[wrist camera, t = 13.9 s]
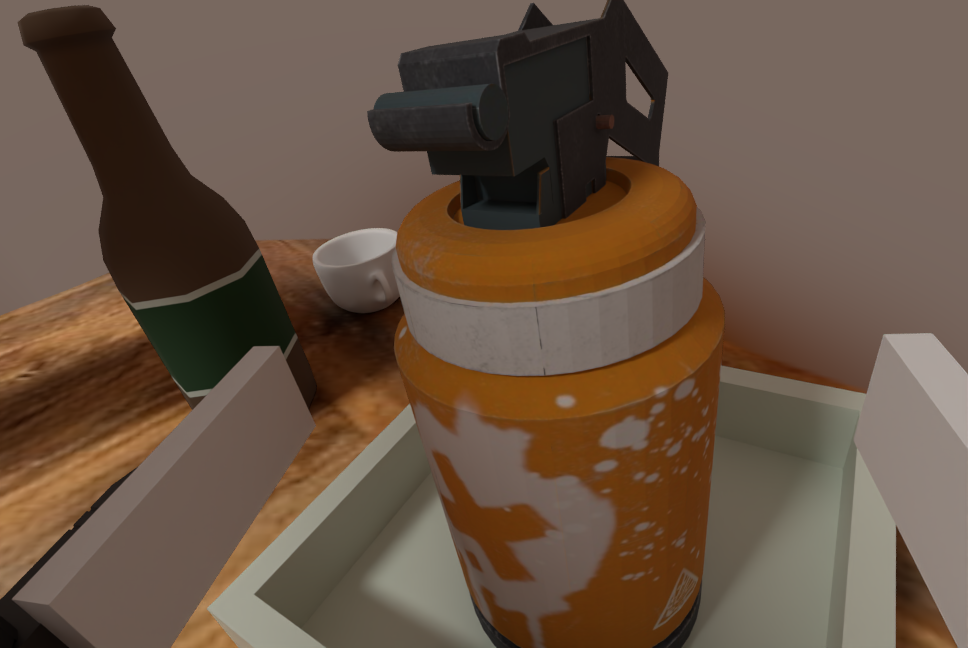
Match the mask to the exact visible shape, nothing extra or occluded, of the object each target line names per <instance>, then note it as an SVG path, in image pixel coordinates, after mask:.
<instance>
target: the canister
mask: <svg viewBox="0 0 968 648" xmlns="http://www.w3.org/2000/svg"><path fill="white" fill-rule="evenodd" d="M625 62H626V63H627V64H628V66H629V67H630V69H631V70H632V72H633V73H634V74H635V76H636V77H637V79H638V80H639V82H640V83H641V85H642V86H643V87H644V89H645V90H646V92H647V93H648V95H649V96H650V97H651V106H650V111H649V115H648V118H647V117H646V116H644V115H643V114H642V113H640V112H639V111H638V110H637V109H635V108H634V107H633V106H631V105H630V104H629V103H627V100H626V74H625V72H626V71H625ZM398 68H399V72H400V76H401V81H402V85H403V90H404V92H397V93H386V94H383V95H381V96H380V97H379V98H378V99H377V101H376V103H375V106H374V110H370V111H367V113H368V121H369V125H370V128H371V131H372V133H373V135H374V137H375V139H376V140H377V141H378V143H379V144H380V145H381V146H382V147H384V148H385V149H387V150H390V151H427V153H428V158H429V162H430V167H431V172H432V174H437V175H460V180H459V181H457V182H455V183H452V184H450V185H448V186H445V187H443V188H442V189H440V190H438V191H436V192H434V193H432V194H431V195H429V196H428V197H426V198H424V199H423V200H422V201H421V202H419V203H418V204H417V205H416V206H414V208H413V209H412V210H411V211H410V212H409V213H408V214H407V216H406V217H405V218H404V220H403V222H402V224H401V226H400V228H399V230H398V232H397V239H396V248H395V250H394V253H393V255H392V268H393V271H394V275H395V279H396V283H397V286H398V290H399V294H400V298H401V301H402V305H403V309H404V315H403V317H402V318H401V320H400V322H399V324H398V327H397V330H396V333H395V339H394V351H395V355H396V360H397V364H398V367H399V370H400V373H401V376H402V379H403V383H404V386H405V389H406V392H407V395H408V399H409V402H410V405H411V408H412V411H413V415H414V418H415V421H416V424H417V427H418V431H419V434H420V437H421V440H422V443H423V447H424V450H425V453H426V456H427V459H428V463H429V466H430V469H431V472H432V475H433V478H434V482H435V485H436V488H437V491H438V494H439V498H440V501H441V504H442V507H443V510H444V514H445V517H446V520H447V523H448V526H449V530H450V533H451V536H452V539H453V542H454V546H455V549H456V552H457V555H458V558H459V562H460V565H461V568H462V571H463V574H464V577H465V581H466V584H467V587H468V589H469V593H470V597H471V600H472V603H473V606H474V609H475V613H476V615H477V617H478V619H479V621H480V624H481V626H482V628H483V630H484V631H485V633H486V634H487V636H488V637H489V639H490V640H491V642H492V643H493V645H494V646H495V647H496V648H682V646H683V645H684V643H685V642H686V640H687V639H688V638H689V636H690V634H691V631H692V629H693V627H694V624H695V622H696V620H697V615H698V611H699V606H700V601H701V590H702V575H703V567H704V556H705V545H706V533H707V522H708V510H709V499H710V488H711V476H712V465H713V453H714V442H715V431H716V419H717V408H718V396H719V385H720V374H721V362H722V351H723V340H724V328H725V318H724V317H725V312H724V307H723V304H722V301H721V299H720V296H719V295H718V293H717V292H716V291H715V289H714V287H713V286H712V285H711V284H710V283H709V282H708V281H707V280H706V279H705V278H704V277H703V268H704V267H703V266H704V241H705V219H704V217H703V214H702V212H701V210H700V209H699V208H698V207H697V205H696V203H695V200H694V198H693V195H692V193H691V191H690V189H689V188H688V187H687V186H686V185H685V184H684V183H683V181H681V179H680V178H679V177H677V176H675V175H674V174H672V173H671V172H669V171H667V170H665V169H664V168H661V167H659V148H660V139H661V131H662V122H663V113H664V105H665V96H666V88H667V79H668V72H667V70H666V68H665V67H664V65H663V64H662V62H661V60H660V59H659V57H658V55H657V54H656V52H655V51H654V49H653V47H652V46H651V44H650V42H649V41H648V39H647V37H646V36H645V34H644V33H643V31H642V29H641V28H640V26H639V24H638V23H637V21H636V20H635V18H634V16H633V15H632V13H631V11H630V10H629V8H628V7H627V5H626V3H625V2H624V0H607V3H606V6H605V8H604V10H603V13H602V15H601V18H599V19H592V20H586V21H579V22H573V23H567V24H560V25H552V23H551V22H550V21H549V20H548V19H547V18H546V17H545V16H544V15H543V14H542V12H541V11H540V10H539V9H538V7H537V6H536V5H535V4H534V3H531V4H530V6H529V8H528V10H527V12H526V15H525V17H524V19H523V21H522V23H521V25H520V28H519V30H518V31H516V32H513V33H509V34H506V35H501V36H494V37H487V38H481V39H475V40H468V41H462V42H455V43H448V44H442V45H435V46H429V47H425V48H420V49H417V50H413V51H409V52H405V53H401V55H400V59H399V63H398ZM609 138H610V139H611V140H612V141H614V142H615V143H616V144H618V145H619V146H621V147H622V148H623V149H625V150H626V151H628V152H629V153H630V154H632V155H633V156H606V155H607V147H608V139H609Z"/></svg>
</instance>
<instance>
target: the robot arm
mask: <svg viewBox="0 0 968 648" xmlns="http://www.w3.org/2000/svg"><path fill="white" fill-rule="evenodd" d="M315 426H316V425H315V423H314V420H313V418H312V416H311V414H310V412H309V410H308V407H307V405H306V403H305V401H304V399H303V397H302V394H301V392H300V390H299V388H298V386H297V384H296V381H295V379H294V377H293V375H292V373H291V371H290V368H289V366H288V364H287V362H286V360H285V357H284V355H283V353H282V351H281V349H280V347H279V346H253V347H252V349H251V350H250V351H249V352H248V353H247V354H246V355H245V356H244V357H243V358H242V359H241V360H240V361H239V362H238V363H237V364H236V365H235V366H234V367H233V368H232V369H231V370H230V372H229V373H228V374H227V375H226V376H225V377H224V378H223V379H222V380H221V381H220V382H219V383H218V384H217V385H216V386H215V387H214V388H213V389H212V390H211V391H210V392H209V393H208V395H207V396H206V397H205V398H204V399H203V400H202V401H201V402H200V403H199V404H198V405H197V406H196V407H195V408H194V409H193V410H192V411H191V412H190V413H189V414H188V415H187V416H186V417H185V419H184V420H183V421H182V422H181V423H180V424H179V425H178V426H177V427H176V428H175V429H174V430H173V431H172V432H171V433H170V434H169V435H168V436H167V437H166V438H165V439H164V440H163V442H162V443H161V444H160V445H159V446H158V447H157V448H156V449H155V450H154V451H153V452H152V453H151V454H150V455H149V456H148V457H147V458H146V459H145V460H144V461H143V462H142V463H141V465H140V466H139V467H137V468H135V469H134V470H133V471H131V472H130V473H128V474H127V475H126V476H124V477H123V478H121V479H120V480H119V481H117V482H116V483H114V484H113V485H112V486H111V487H110V488H109V489H108V490H107V491H106V492H105V493H104V494H103V495H102V496H101V497H100V498H99V499H98V500H97V501H96V502H95V503H94V504H93V505H92V506H91V510H90V511H89V512H88V511H86V512H85V514H84V515H83V516H82V517H81V518H80V519H79V520H78V521H77V522H76V523H75V524H74V525H73V526H74V528H73V529H72V530H68V531H67V532H66V533H65V534H64V535H63V536H62V537H61V538H60V539H59V540H58V541H57V542H56V543H55V544H54V545H53V546H52V547H51V548H50V549H49V550H48V551H47V553H46V554H45V555H44V556H43V557H42V558H41V559H40V560H39V561H38V562H37V563H36V564H35V565H34V566H33V567H32V568H31V569H30V570H29V571H28V572H27V573H26V574H25V575H24V576H23V577H22V578H21V579H20V580H19V581H18V582H17V583H16V584H15V585H14V586H13V587H12V588H11V589H10V591H9V592H8V593H7V594H6V595H5V596H4V597H3V598H1V599H0V648H170V647H171V646H172V644H173V643H174V641H175V640H176V638H177V637H178V635H179V634H180V632H181V631H182V629H183V628H184V626H185V625H186V623H187V622H188V620H189V618H190V617H191V615H192V614H193V612H194V611H195V609H196V608H197V606H198V605H199V603H200V602H201V600H202V599H203V597H204V596H205V594H206V593H207V591H208V589H209V588H210V586H211V585H212V583H213V582H214V580H215V579H216V577H217V576H218V574H219V573H220V571H221V570H222V568H223V567H224V565H225V564H226V562H227V560H228V559H229V557H230V556H231V554H232V553H233V551H234V550H235V548H236V547H237V545H238V544H239V542H240V541H241V539H242V538H243V536H244V535H245V533H246V531H247V530H248V528H249V527H250V525H251V524H252V522H253V521H254V519H255V518H256V516H257V515H258V513H259V512H260V510H261V509H262V507H263V506H264V504H265V502H266V501H267V499H268V498H269V496H270V495H271V493H272V492H273V490H274V489H275V487H276V486H277V484H278V483H279V481H280V480H281V478H282V477H283V475H284V473H285V472H286V470H287V469H288V467H289V466H290V464H291V463H292V461H293V460H294V458H295V457H296V455H297V454H298V452H299V451H300V449H301V448H302V446H303V444H304V443H305V441H306V440H307V438H308V437H309V435H310V434H311V432H312V431H313V429H314V428H315ZM853 440H854V442H855V444H856V446H857V448H858V450H859V452H860V454H861V456H862V458H863V460H864V462H865V464H866V466H867V468H868V470H869V472H870V474H871V476H872V478H873V480H874V482H875V484H876V486H877V488H878V490H879V492H880V494H881V496H882V498H883V500H884V502H885V504H886V506H887V508H888V510H889V512H890V514H891V516H892V518H893V520H894V522H895V524H896V526H897V528H898V530H899V532H900V534H901V536H902V538H903V540H904V542H905V544H906V545H907V547H908V549H909V551H910V553H911V555H912V557H913V559H914V561H915V563H916V565H917V567H918V569H919V571H920V573H921V575H922V577H923V579H924V581H925V583H926V585H927V587H928V589H929V591H930V593H931V595H932V597H933V599H934V601H935V603H936V605H937V607H938V609H939V611H940V613H941V615H942V617H943V619H944V621H945V623H946V625H947V627H948V629H949V631H950V633H951V635H952V637H953V639H954V641H955V643H956V645H957V647H958V648H968V374H967V373H966V372H965V371H964V369H963V368H962V367H961V366H960V365H959V364H958V362H957V361H956V360H955V359H954V358H953V357H952V356H951V354H950V353H949V352H948V351H947V350H946V349H945V347H944V346H943V345H942V344H941V343H940V342H939V341H938V340H937V338H936V337H935V336H934V335H933V334H932V333H925V334H884V335H883V338H882V342H881V345H880V349H879V352H878V355H877V359H876V362H875V366H874V369H873V373H872V376H871V380H870V383H869V387H868V390H867V394H866V397H865V400H864V404H863V407H862V411H861V414H860V418H859V421H858V425H857V428H856V432H855V435H854V439H853Z"/></svg>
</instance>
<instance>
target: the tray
mask: <svg viewBox="0 0 968 648" xmlns="http://www.w3.org/2000/svg"><path fill="white" fill-rule="evenodd" d="M865 397H866V394H864V393H859V392H854V391H849V390H844V389H839V388H834V387H828V386H823V385H818V384H813V383H808V382H803V381H798V380H793V379H788V378H782V377H777V376H772V375H767V374H762V373H757V372H752V371H747V370H742V369H736V368H731V367H726V366H721V374H720V385H719V396H718V408H717V419H716V431H715V442H714V453H713V465H712V476H711V488H710V499H709V510H708V522H707V533H706V545H705V556H704V567H703V575H702V590H701V601H700V606H699V611H698V615H697V620H696V622H695V624H694V627H693V629H692V631H691V634H690V636H689V638H688V639H687V640H686V642H685V643H684V645H683V646H682V648H896V524H895V522H894V520H893V518H892V516H891V514H890V512H889V510H888V508H887V506H886V504H885V502H884V500H883V498H882V496H881V494H880V492H879V490H878V488H877V486H876V484H875V482H874V480H873V478H872V476H871V474H870V472H869V470H868V468H867V466H866V464H865V462H864V460H863V458H862V456H861V454H860V452H859V450H858V448H857V446H856V444H855V442H854V440H853V439H854V435H855V432H856V428H857V425H858V421H859V418H860V414H861V411H862V407H863V404H864V400H865ZM207 610H208V611H209V612H210V613H211V614H212V616H213V617H214V618H215V619H216V621H217V622H218V623H219V624H220V625H221V627H222V628H223V629H224V630H225V632H226V633H227V634H228V635H229V636H230V638H231V639H232V640H233V641H234V643H235V644H236V645H237V646H238V647H239V648H496V647H495V646H494V645H493V643H492V642H491V640H490V639H489V637H488V636H487V634H486V633H485V631H484V630H483V628H482V626H481V624H480V621H479V619H478V617H477V615H476V613H475V609H474V606H473V603H472V600H471V597H470V593H469V589H468V587H467V584H466V581H465V577H464V574H463V571H462V568H461V565H460V562H459V558H458V555H457V552H456V549H455V546H454V542H453V539H452V536H451V533H450V530H449V526H448V523H447V520H446V517H445V514H444V510H443V507H442V504H441V501H440V498H439V494H438V491H437V488H436V485H435V482H434V478H433V475H432V472H431V469H430V466H429V463H428V459H427V456H426V453H425V450H424V447H423V443H422V440H421V437H420V434H419V431H418V427H417V424H416V421H415V418H414V415H413V411H412V408H411V405H410V404H409V405H408V406H407V407H406V408H405V409H404V410H403V411H402V412H401V413H400V414H399V415H398V416H397V417H396V418H395V419H394V420H393V421H392V422H391V423H390V424H389V425H388V426H387V427H386V428H385V429H384V430H383V431H382V432H381V433H380V434H379V435H378V436H377V437H376V438H375V439H374V440H373V441H372V442H371V443H370V444H369V445H368V446H367V447H366V448H365V449H364V450H363V451H362V452H361V453H360V454H359V456H358V457H357V458H356V459H355V460H354V461H353V462H352V463H351V464H350V465H349V466H348V467H347V468H346V469H345V470H344V471H343V472H342V473H341V474H340V475H339V476H338V477H337V478H336V479H335V480H334V481H333V482H332V483H331V484H330V485H329V486H328V487H327V488H326V489H325V490H324V491H323V492H322V493H321V494H320V495H319V496H318V497H317V498H316V499H315V500H314V501H313V502H312V503H311V504H310V505H309V506H308V507H307V508H306V509H305V510H304V511H303V512H302V513H301V514H300V515H299V516H298V517H297V518H296V519H295V520H294V521H293V522H292V523H291V524H290V525H289V526H288V527H287V528H286V529H285V530H284V531H283V532H282V533H281V534H280V535H279V536H278V537H277V538H276V539H275V540H274V541H273V542H272V543H271V544H270V545H269V546H268V547H267V548H266V549H265V550H264V551H263V552H262V553H261V554H260V555H259V556H258V557H257V558H256V559H255V560H254V561H253V563H252V564H251V565H250V566H249V567H248V568H247V569H246V570H245V571H244V572H243V573H242V574H241V575H240V576H239V577H238V578H237V579H236V580H235V581H234V582H233V583H232V584H231V585H230V586H229V587H228V588H227V589H226V590H225V591H224V592H223V593H222V594H221V595H220V596H219V597H218V598H217V599H216V600H215V601H214V602H213V603H212V604H211V605H210V606H209V607H208V608H207Z"/></svg>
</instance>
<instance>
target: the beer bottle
mask: <svg viewBox="0 0 968 648" xmlns="http://www.w3.org/2000/svg"><path fill="white" fill-rule="evenodd" d="M18 26H19V29H20V33H21V37H22V41H23V44H24V46H26V47H28V48H30V49H33V50H35V51H36V52H37V54H38V56H39V58H40V60H41V62H42V64H43V66H44V68H45V70H46V72H47V74H48V76H49V78H50V80H51V82H52V84H53V86H54V89H55V91H56V92H57V95H58V97H59V99H60V101H61V103H62V105H63V107H64V109H65V111H66V113H67V115H68V117H69V119H70V121H71V123H72V125H73V127H74V129H75V131H76V133H77V135H78V138H79V140H80V142H81V144H82V145H83V148H84V150H85V152H86V154H87V156H88V158H89V160H90V162H91V164H92V166H93V169H94V172H95V175H96V177H97V180H98V183H99V186H100V189H101V191H102V195H103V204H102V211H101V217H100V224H99V237H100V243H101V249H102V255H103V260H104V263H105V264H106V266H107V268H108V270H109V272H110V274H111V276H112V278H113V280H114V282H115V284H116V286H117V288H118V290H119V292H120V293H121V295H122V297H123V298H124V300H125V302H126V303H127V305H128V306H129V308H130V310H131V311H132V313H133V315H134V316H135V318H136V319H137V321H138V323H139V324H140V326H141V327H142V329H143V331H144V332H145V334H146V336H147V337H148V339H149V340H150V342H151V344H152V345H153V347H154V349H155V350H156V352H157V353H158V355H159V357H160V358H161V360H162V362H163V363H164V365H165V366H166V368H167V370H168V371H169V373H170V375H171V376H172V378H173V379H174V381H175V383H176V384H177V386H178V387H179V389H180V391H181V392H182V394H183V396H184V397H185V399H186V400H187V402H188V404H189V405H190V407H191V408H192V410H193V409H194V408H195V407H196V406H197V405H198V404H199V403H200V402H201V401H202V400H203V399H204V398H205V397H206V396H207V395H208V393H209V392H210V391H211V390H212V389H213V388H214V387H215V386H216V385H217V384H218V383H219V382H220V381H221V380H222V379H223V378H224V377H225V376H226V375H227V374H228V373H229V372H230V370H231V369H232V368H233V367H234V366H235V365H236V364H237V363H238V362H239V361H240V360H241V359H242V358H243V357H244V356H245V355H246V354H247V353H248V352H249V351H250V350H251V349H252V347H253V346H279V347H280V349H281V351H282V353H283V355H284V357H285V360H286V362H287V364H288V366H289V368H290V371H291V373H292V375H293V377H294V379H295V381H296V384H297V386H298V388H299V390H300V392H301V394H302V397H303V399H304V401H305V403H306V405H307V407H308V409H309V407H310V404H311V402H312V399H313V397H314V394H315V392H316V387H317V385H316V382H315V379H314V376H313V374H312V371H311V368H310V365H309V363H308V360H307V358H306V356H305V353H304V351H303V349H302V346H301V344H300V342H299V340H298V337H297V335H296V333H295V330H294V328H293V326H292V323H291V321H290V319H289V316H288V314H287V312H286V309H285V307H284V305H283V302H282V300H281V298H280V296H279V293H278V291H277V289H276V286H275V284H274V282H273V279H272V277H271V275H270V272H269V270H268V268H267V265H266V263H265V261H264V258H263V256H262V254H261V252H260V249H259V247H258V245H257V243H256V242H255V240H254V238H253V236H252V234H251V232H250V231H249V229H248V227H247V225H246V223H245V221H244V220H243V219H242V218H241V216H240V215H239V214H238V213H237V212H236V211H235V210H234V209H233V208H232V207H231V206H230V205H229V203H228V202H227V201H226V200H225V199H224V198H223V197H222V196H220V195H219V194H217V193H216V192H215V191H213V190H212V189H210V188H209V187H207V186H206V185H205V184H203V183H202V182H200V181H199V180H198V179H196V178H195V177H193V176H192V175H191V174H190V173H189V171H188V170H187V168H186V167H185V165H184V164H183V163H182V161H181V160H180V158H179V157H178V155H177V154H176V152H175V151H174V150H173V148H172V147H171V145H170V143H169V141H168V139H167V137H166V136H165V134H164V132H163V130H162V129H161V127H160V125H159V123H158V121H157V119H156V117H155V116H154V114H153V112H152V110H151V108H150V107H149V105H148V103H147V101H146V99H145V97H144V96H143V94H142V92H141V90H140V88H139V86H138V85H137V83H136V81H135V79H134V77H133V75H132V74H131V72H130V70H129V68H128V66H127V65H126V63H125V61H124V59H123V57H122V56H121V54H120V52H119V50H118V48H117V47H116V45H115V43H114V41H113V39H112V36H113V34H114V31H115V29H116V28H115V27H114V26H113V24H112V23H111V22H110V20H109V19H108V18H107V17H106V15H105V14H104V13H103V12H102V10H101V9H100V8H97V7H93V6H89V5H83V6H68V7H61V8H53V9H47V10H42V11H37V12H33V13H28V14H27V15H26V16H25V17H23V18H22V19H21V20H20V21H19V22H18Z"/></svg>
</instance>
